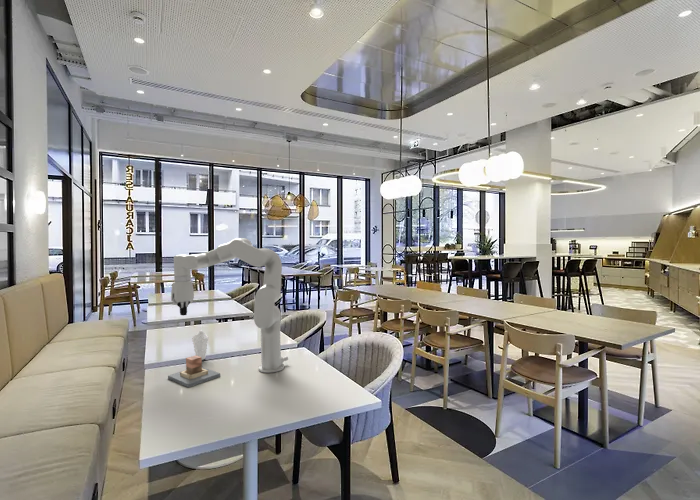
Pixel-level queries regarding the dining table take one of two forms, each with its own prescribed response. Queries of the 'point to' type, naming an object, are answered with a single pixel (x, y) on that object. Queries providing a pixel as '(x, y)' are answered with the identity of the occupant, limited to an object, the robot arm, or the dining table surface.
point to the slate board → (193, 377)
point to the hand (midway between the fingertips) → (183, 314)
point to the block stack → (193, 365)
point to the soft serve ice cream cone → (200, 344)
